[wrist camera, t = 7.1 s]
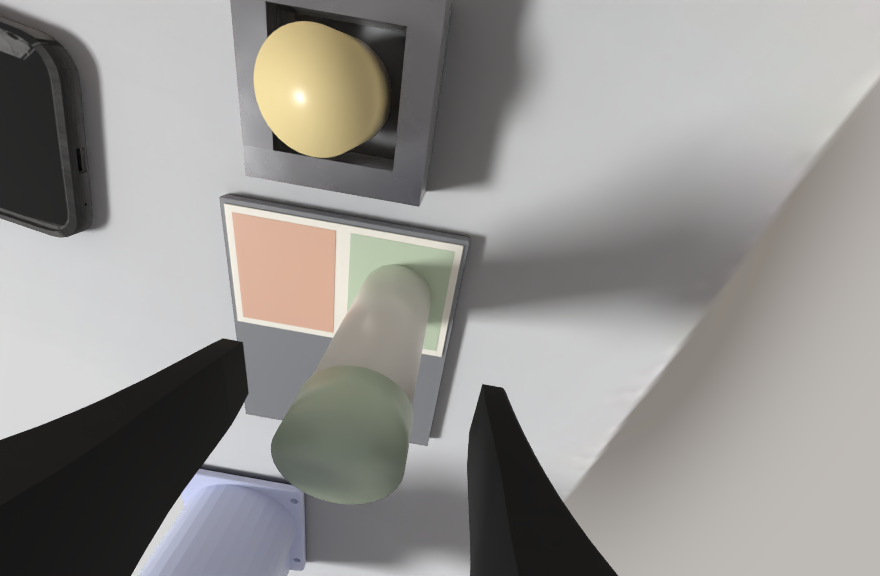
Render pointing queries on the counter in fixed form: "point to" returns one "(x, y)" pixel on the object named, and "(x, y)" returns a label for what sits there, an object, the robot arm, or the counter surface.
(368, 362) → the marker
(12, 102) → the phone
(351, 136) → the button
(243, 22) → the button collar
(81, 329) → the counter surface
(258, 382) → the picture board
